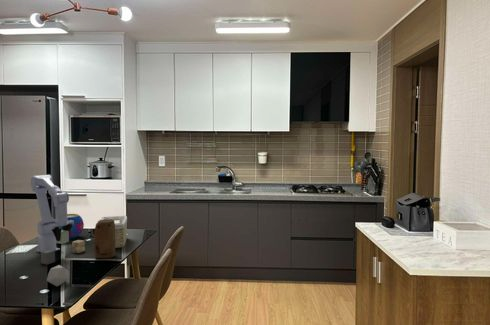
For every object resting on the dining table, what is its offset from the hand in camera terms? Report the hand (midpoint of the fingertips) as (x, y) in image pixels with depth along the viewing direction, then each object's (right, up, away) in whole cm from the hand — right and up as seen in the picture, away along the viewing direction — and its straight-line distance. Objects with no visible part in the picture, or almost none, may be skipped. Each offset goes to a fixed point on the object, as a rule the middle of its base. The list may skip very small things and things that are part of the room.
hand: (62, 239), depth 198 cm
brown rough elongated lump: (+23, -10, 0) cm, 25 cm away
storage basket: (+18, -8, +26) cm, 33 cm away
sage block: (0, -2, 0) cm, 2 cm away
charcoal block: (-3, -10, -9) cm, 14 cm away
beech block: (+5, -9, +10) cm, 14 cm away
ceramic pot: (-14, -7, +38) cm, 41 cm away
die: (+17, -12, -37) cm, 43 cm away
